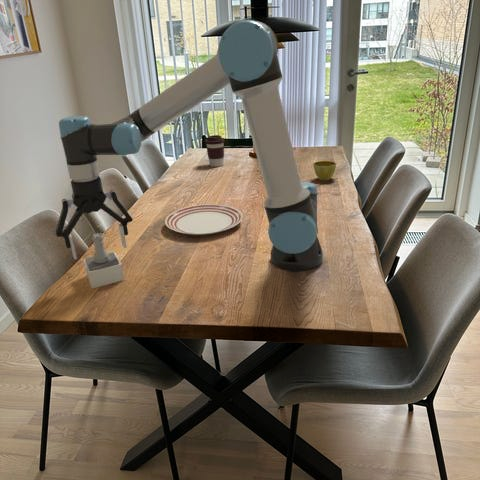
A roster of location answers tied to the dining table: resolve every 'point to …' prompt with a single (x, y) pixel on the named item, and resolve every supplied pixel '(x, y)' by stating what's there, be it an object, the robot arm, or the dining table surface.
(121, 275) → the stand
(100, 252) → the rook chess piece
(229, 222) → the dinner plate
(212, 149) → the coffee cup
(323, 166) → the flower pot
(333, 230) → the dining table surface
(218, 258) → the dining table surface
